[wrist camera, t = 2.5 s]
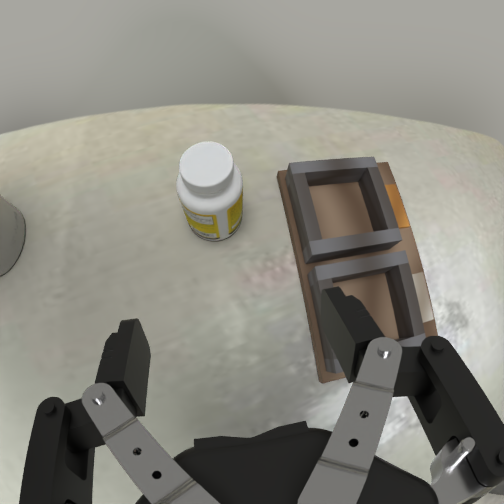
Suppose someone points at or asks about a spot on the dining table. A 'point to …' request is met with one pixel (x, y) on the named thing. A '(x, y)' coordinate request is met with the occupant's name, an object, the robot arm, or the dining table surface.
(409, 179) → the dining table surface
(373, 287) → the socket board
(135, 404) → the robot arm
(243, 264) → the dining table surface
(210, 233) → the supplement bottle
